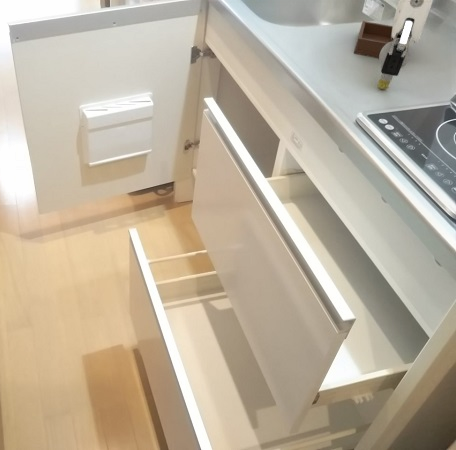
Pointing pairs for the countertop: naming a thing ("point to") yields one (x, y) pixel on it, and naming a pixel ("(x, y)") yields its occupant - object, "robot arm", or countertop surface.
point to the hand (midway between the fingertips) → (390, 66)
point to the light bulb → (384, 78)
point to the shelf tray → (372, 38)
